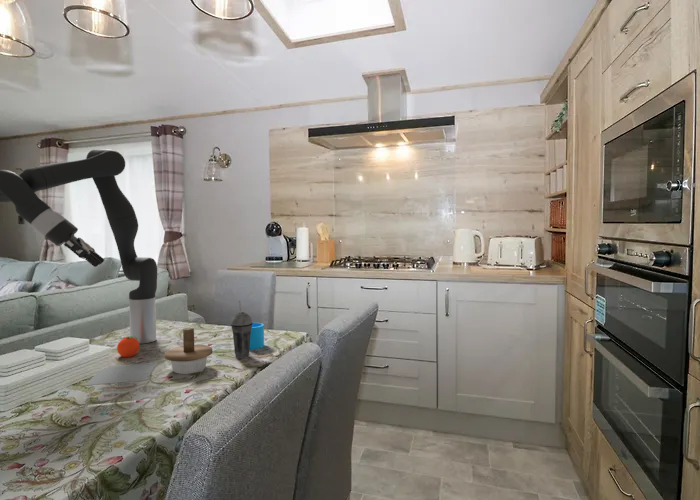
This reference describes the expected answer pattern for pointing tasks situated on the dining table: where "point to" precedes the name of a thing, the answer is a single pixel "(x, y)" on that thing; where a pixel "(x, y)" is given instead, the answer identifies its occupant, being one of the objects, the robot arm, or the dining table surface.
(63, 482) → the dining table surface
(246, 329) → the beverage cup
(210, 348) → the walnut lid
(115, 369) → the slate mat
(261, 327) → the mug
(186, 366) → the ramekin
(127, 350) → the clementine
